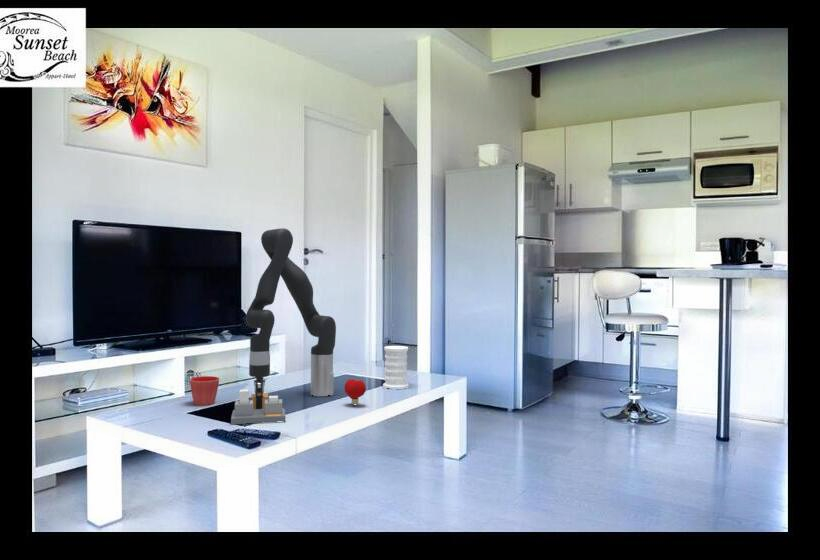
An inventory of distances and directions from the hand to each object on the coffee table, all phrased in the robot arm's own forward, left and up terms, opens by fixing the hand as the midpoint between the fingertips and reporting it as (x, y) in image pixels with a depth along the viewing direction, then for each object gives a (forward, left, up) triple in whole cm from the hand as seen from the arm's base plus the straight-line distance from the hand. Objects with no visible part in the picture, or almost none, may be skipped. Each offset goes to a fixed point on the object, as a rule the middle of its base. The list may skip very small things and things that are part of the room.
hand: (259, 407), depth 220 cm
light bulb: (-36, -1, -1) cm, 36 cm away
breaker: (+5, +13, +4) cm, 14 cm away
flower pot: (+21, -15, -1) cm, 26 cm away
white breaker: (-5, +13, +1) cm, 14 cm away
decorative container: (-59, -33, -1) cm, 68 cm away
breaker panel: (0, +13, -1) cm, 13 cm away
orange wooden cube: (0, 0, -1) cm, 1 cm away
